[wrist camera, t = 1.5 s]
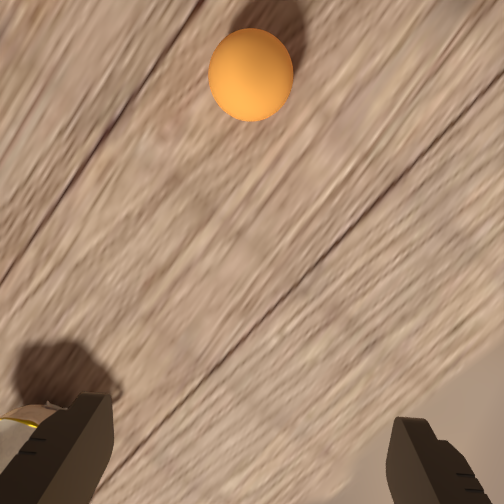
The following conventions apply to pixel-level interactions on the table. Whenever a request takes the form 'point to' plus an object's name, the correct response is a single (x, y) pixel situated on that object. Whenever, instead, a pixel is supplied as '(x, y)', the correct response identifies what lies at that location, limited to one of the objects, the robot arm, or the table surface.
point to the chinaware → (21, 428)
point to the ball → (250, 74)
